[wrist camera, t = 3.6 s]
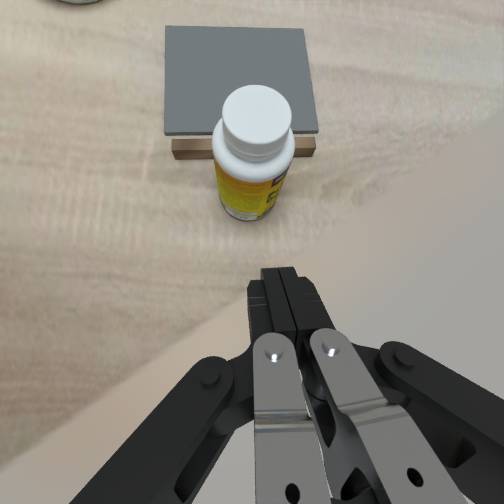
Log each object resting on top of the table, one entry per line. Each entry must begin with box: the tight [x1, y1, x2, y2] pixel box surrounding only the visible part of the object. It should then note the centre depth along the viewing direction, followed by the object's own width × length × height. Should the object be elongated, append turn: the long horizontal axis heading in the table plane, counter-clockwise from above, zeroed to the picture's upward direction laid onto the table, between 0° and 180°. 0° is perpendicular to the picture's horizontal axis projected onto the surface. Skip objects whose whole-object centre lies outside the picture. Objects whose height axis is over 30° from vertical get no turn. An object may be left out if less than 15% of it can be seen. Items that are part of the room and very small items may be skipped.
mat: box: [164, 26, 319, 135], centre depth 26 cm, size 16×14×1 cm
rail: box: [172, 137, 316, 159], centre depth 23 cm, size 14×1×1 cm, turn 94°
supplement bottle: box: [212, 85, 295, 220], centre depth 18 cm, size 6×6×10 cm
